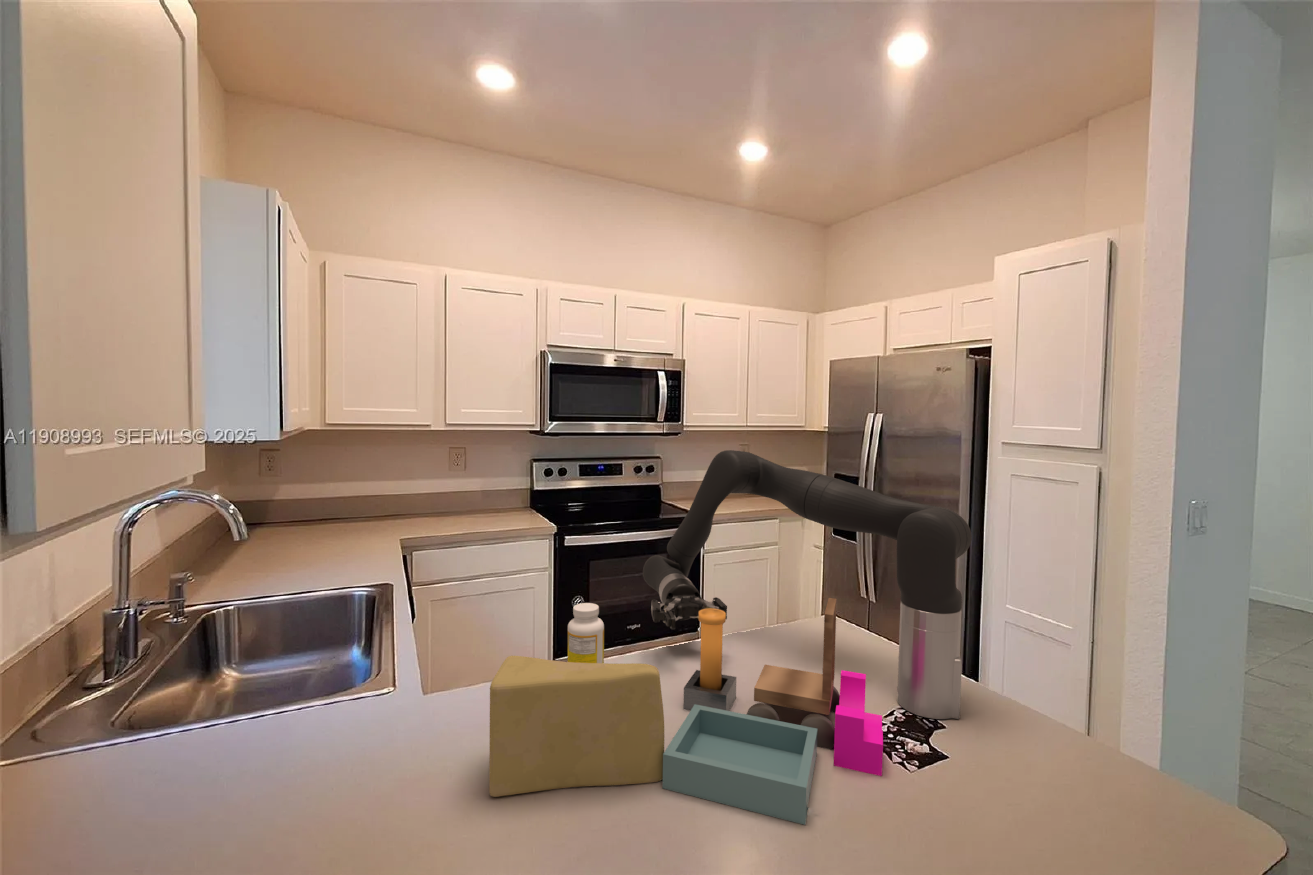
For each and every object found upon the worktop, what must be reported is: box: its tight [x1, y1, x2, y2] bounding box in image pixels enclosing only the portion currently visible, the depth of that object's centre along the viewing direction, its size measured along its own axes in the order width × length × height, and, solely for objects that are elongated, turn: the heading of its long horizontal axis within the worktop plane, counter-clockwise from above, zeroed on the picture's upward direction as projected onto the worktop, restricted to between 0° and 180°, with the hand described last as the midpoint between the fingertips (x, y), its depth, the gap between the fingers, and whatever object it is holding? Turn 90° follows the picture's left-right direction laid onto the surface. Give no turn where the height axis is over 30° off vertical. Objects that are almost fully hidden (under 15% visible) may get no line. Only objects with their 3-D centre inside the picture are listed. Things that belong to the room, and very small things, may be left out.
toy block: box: [833, 669, 884, 777], centre depth 87 cm, size 15×6×8 cm, turn 159°
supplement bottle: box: [567, 602, 605, 663], centre depth 107 cm, size 7×7×13 cm
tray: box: [662, 704, 818, 826], centre depth 79 cm, size 18×14×4 cm
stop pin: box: [698, 608, 727, 691], centre depth 95 cm, size 4×4×15 cm
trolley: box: [746, 597, 840, 750], centre depth 91 cm, size 13×12×20 cm
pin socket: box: [682, 669, 737, 712], centre depth 96 cm, size 7×7×4 cm
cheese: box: [488, 655, 665, 798], centre depth 77 cm, size 22×10×15 cm, turn 90°
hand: (696, 623), depth 106 cm, fingers open, 8 cm apart
